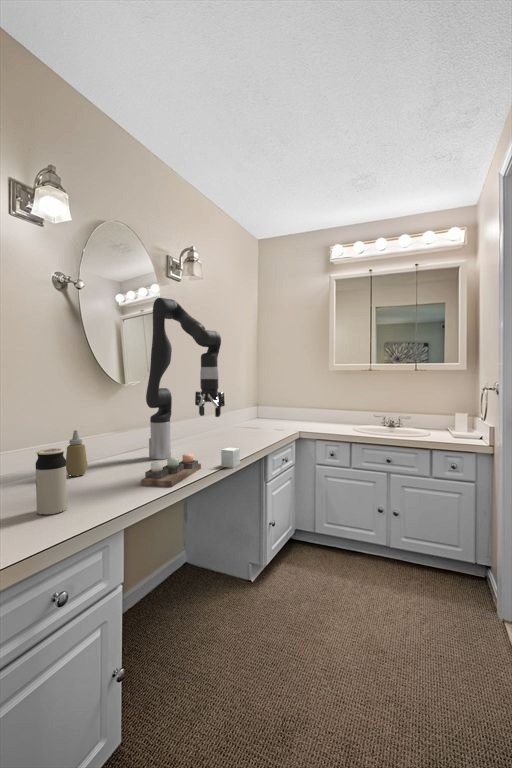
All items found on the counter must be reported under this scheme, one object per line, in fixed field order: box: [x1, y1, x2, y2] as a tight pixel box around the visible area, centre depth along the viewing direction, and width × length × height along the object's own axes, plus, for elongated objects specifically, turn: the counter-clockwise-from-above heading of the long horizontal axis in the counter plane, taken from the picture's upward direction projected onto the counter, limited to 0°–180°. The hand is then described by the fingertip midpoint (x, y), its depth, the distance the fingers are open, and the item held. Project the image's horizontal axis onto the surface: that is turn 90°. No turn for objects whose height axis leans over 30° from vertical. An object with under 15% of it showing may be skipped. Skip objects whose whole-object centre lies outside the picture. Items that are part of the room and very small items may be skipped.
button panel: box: [140, 459, 202, 488], centre depth 157 cm, size 12×28×4 cm, turn 166°
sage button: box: [166, 457, 180, 468], centre depth 157 cm, size 4×4×3 cm
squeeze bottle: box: [65, 429, 88, 476], centre depth 160 cm, size 8×8×18 cm
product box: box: [220, 447, 241, 469], centre depth 173 cm, size 6×6×7 cm
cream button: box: [150, 461, 164, 472], centre depth 149 cm, size 4×4×3 cm
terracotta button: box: [181, 453, 194, 463], centre depth 164 cm, size 4×4×3 cm
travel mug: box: [34, 447, 68, 515], centre depth 118 cm, size 8×8×18 cm
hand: (209, 416), depth 169 cm, fingers open, 8 cm apart
